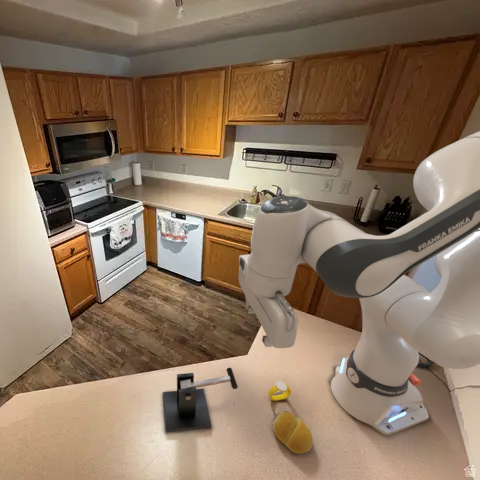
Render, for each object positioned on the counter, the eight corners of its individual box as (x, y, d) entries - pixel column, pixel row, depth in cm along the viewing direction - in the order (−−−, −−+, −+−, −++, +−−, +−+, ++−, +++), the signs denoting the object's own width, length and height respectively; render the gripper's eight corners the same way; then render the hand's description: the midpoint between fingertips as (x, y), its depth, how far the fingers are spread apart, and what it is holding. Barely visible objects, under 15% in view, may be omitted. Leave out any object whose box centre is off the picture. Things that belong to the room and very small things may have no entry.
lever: (231, 371, 69) (231, 365, 68) (238, 389, 65) (237, 384, 64) (180, 381, 70) (179, 375, 69) (183, 399, 65) (181, 394, 64)
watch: (285, 391, 76) (289, 379, 73) (290, 401, 73) (295, 389, 71) (265, 394, 75) (269, 382, 72) (270, 404, 73) (274, 392, 70)
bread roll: (302, 463, 61) (306, 455, 59) (267, 431, 67) (270, 423, 65) (317, 436, 66) (321, 428, 64) (282, 409, 72) (285, 400, 70)
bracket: (203, 390, 77) (205, 363, 71) (211, 428, 68) (214, 400, 62) (163, 394, 76) (161, 366, 70) (166, 432, 68) (165, 404, 62)
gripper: (314, 313, 43) (296, 367, 49) (262, 250, 60) (254, 296, 67) (277, 316, 42) (263, 370, 49) (236, 252, 60) (230, 297, 67)
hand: (258, 326), depth 58 cm, fingers open, 8 cm apart
